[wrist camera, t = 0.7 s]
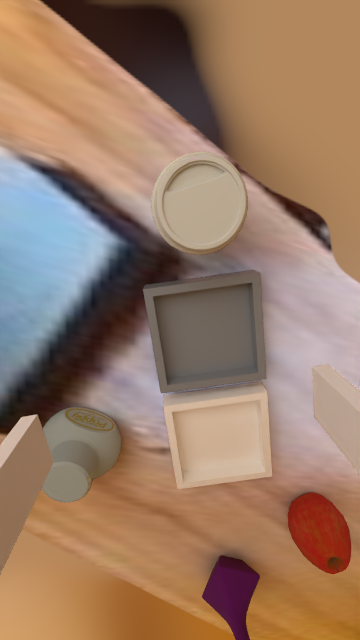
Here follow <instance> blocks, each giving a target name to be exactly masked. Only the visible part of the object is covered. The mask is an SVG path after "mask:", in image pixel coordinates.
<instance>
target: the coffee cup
mask: <svg viewBox="0 0 360 640" xmlns="http://www.w3.org/2000/svg"><path fill="white" fill-rule="evenodd" d="M151 208H152V215H153V219H154V222H155V225H156V227H157V229H158V231H159V233H160V234H161V236H162V237H163V238H164V239H165V240H166V241H167V242H168V243H169V244H170V245H171V246H173V247H174V248H176V249H178V250H180V251H182V252H185V253H188V254H194V255H204V254H209V253H213V252H216V251H218V250H220V249H222V248H223V247H225V246H226V245H228V244H229V243H230V242H231V241H232V240H233V239H234V238H235V237H236V236H237V234H238V233H239V231H240V230H241V228H242V226H243V224H244V221H245V218H246V215H247V209H248V195H247V190H246V186H245V183H244V181H243V178H242V177H241V175H240V173H239V172H238V170H237V169H236V168H235V167H234V166H233V165H232V164H231V163H230V162H229V161H227V160H226V159H224V158H223V157H221V156H219V155H216V154H213V153H209V152H193V153H189V154H186V155H183V156H181V157H179V158H177V159H175V160H174V161H172V162H171V163H170V164H169V165H168V166H167V167H166V168H165V169H164V170H163V171H162V173H161V174H160V176H159V177H158V179H157V181H156V183H155V186H154V189H153V193H152V200H151Z"/></svg>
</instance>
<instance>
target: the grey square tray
mask: <svg viewBox="0 0 360 640" xmlns="http://www.w3.org/2000/svg"><path fill="white" fill-rule="evenodd" d="M143 292H144V297H145V303H146V309H147V315H148V321H149V327H150V332H151V338H152V344H153V350H154V356H155V362H156V367H157V373H158V379H159V385H160V391H161V393H167V392H174V391H181V390H188V389H196V388H203V387H210V386H217V385H225V384H232V383H239V382H246V381H254V380H261V379H266V363H265V346H264V329H263V312H262V296H261V279H260V273H259V272H257V271H255V270H249V271H242V272H235V273H228V274H220V275H213V276H206V277H199V278H192V279H185V280H178V281H170V282H163V283H156V284H149V285H145V286H144V288H143Z"/></svg>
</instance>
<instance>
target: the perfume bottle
mask: <svg viewBox="0 0 360 640" xmlns="http://www.w3.org/2000/svg"><path fill="white" fill-rule="evenodd" d="M259 578H260V575H259V574H258V573H257V572H255V571H254V570H253V569H252V568H251V567H249V566H248V565H247V564H246V563H245V562H243V561H242V560H239V559H235V558H230V557H226V556H220V557H219V559H218V561H217V563H216V565H215V567H214V569H213V571H212V573H211V575H210V578H209V580H208V583H207V585H206V588H205V590H204V592H203V595H202V598H203V599H204V600H205V601H206V602H207V603H208V604H209V605H210V606H212V607H213V608H214V609H215V610H216V611H217V612H218V613H219V614H220V615H221V616H222V617H223V618H224V619H225V620H226V622H227V623H228V624H229V626H230V628H231V630H232V632H233V634H234V636H235V639H236V640H250V639H249V635H248V631H247V627H246V613H247V610H248V607H249V604H250V600H251V597H252V595H253V593H254V590H255V588H256V585H257V583H258V581H259Z"/></svg>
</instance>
